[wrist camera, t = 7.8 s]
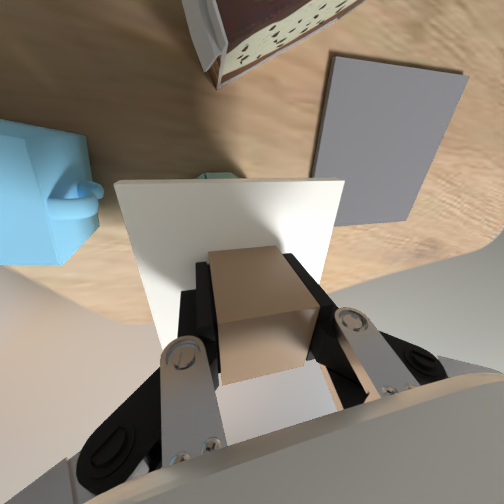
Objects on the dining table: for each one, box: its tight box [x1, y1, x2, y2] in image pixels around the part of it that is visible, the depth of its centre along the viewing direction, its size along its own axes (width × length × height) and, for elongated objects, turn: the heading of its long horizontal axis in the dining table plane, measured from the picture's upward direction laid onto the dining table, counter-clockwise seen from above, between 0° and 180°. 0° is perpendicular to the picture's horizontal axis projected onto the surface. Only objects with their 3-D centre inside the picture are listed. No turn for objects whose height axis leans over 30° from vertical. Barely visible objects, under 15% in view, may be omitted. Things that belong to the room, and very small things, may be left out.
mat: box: [311, 56, 470, 227], centre depth 19 cm, size 13×13×1 cm
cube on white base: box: [113, 178, 345, 385], centre depth 10 cm, size 10×10×5 cm
